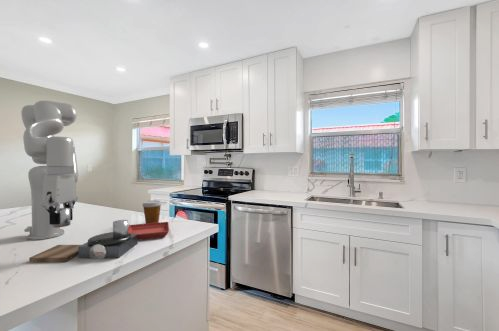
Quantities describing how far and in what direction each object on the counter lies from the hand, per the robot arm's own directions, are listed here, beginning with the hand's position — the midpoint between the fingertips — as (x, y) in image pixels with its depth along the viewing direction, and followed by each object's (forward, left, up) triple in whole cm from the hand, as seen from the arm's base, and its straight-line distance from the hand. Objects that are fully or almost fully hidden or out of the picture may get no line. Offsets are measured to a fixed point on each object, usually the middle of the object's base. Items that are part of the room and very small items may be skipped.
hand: (61, 221), depth 83 cm
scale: (+15, +4, -12) cm, 20 cm away
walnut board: (0, 0, -12) cm, 12 cm away
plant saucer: (+21, +24, -13) cm, 34 cm away
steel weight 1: (0, 0, -1) cm, 1 cm away
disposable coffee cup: (+16, +41, -12) cm, 46 cm away
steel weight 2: (+19, +4, -7) cm, 20 cm away
